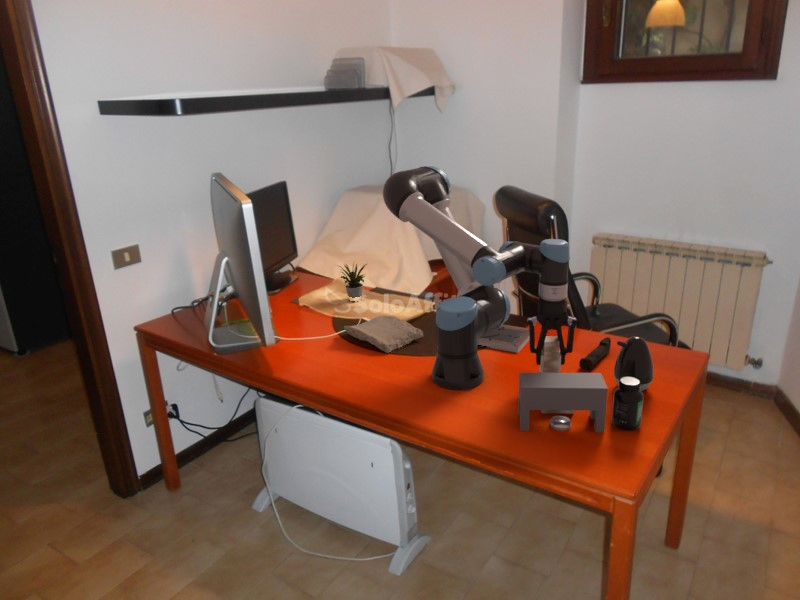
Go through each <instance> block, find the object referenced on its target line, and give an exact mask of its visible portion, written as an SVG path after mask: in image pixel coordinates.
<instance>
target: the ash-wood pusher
mask: <svg viewBox="0 0 800 600" xmlns="http://www.w3.org/2000/svg"><path fill="white" fill-rule="evenodd" d="M559 344H560V342H559V340H558V337H557V335H556V336H555V335H549V336H548V335H546V338H545V341H544V345H543V349H542V352H543V354H544V365H543V373H558V365H559V352H560V348H559ZM540 411H541V414H553V415H554V414H557V415H558V414H559V415H560V414H561V415H562V414H563V415H564V414H565V415H569V414H570V415H571V414H573V415H574V412H575V410H540Z"/></svg>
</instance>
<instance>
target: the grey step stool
mask: <svg viewBox="0 0 800 600" xmlns="http://www.w3.org/2000/svg"><path fill="white" fill-rule="evenodd" d="M608 391H609V389H608V386H607V383H606V381H605V379H604V377H603V375H602V373H601V372H561V373H539V372H520V371H519V372H518V401H517V402H518V405H517V406H518V407H517V408H518V409H517V412H518V413H517V414H518V419H519V429H520V431H521V432H529V431H530V411H536V410H538V411H541V410H574V411H589V416H590V420H594V426H593V428H594V431H595V433H605V427H606V415H607V402H608Z"/></svg>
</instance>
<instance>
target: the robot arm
mask: <svg viewBox="0 0 800 600" xmlns="http://www.w3.org/2000/svg"><path fill="white" fill-rule="evenodd" d="M450 193H451V183H450V179H449V178H448V176H447V174H446V173H445V172H444V171H443V170H442V169H441V168H439V167H436V166H430V165H429V166H427V165H425V166H424V165H423V166H420V167H416V168H411V169H406V170H401V171H397V172H395V173H393V174H391V175H390V176H389V177H388V178H387V180H386V181H385V182H384V185H383V189H382V197H383V202H384V204H385V206H386V208H387V209H388V210H389V212H390V213H391V214H392V215H394V216H395V217H396V218H398V220H400V222H402V223H408V222H409V223H410V224H411V225H413V227H415V228H417V229H418V231H419V230H420V231H421V232H422V233H424V234H425V235H427V237H429V238H430V239H432V240H433V243H434V244H435V247H436V248H437V250H438V252H439V254H440V256H441V259H442V260H443V262H444V265H445V267H446V269H447V271H448V272H449V274H450V277H451V279H452V280H453V282H454V285H455V286H456V288H457V289H456V290H457V295H456V296H455V297H449V298H446V299H444V300H443V301H442V302H441V301H440V303H439V304H438V305H437V307H436V312H435V313H436V315H435V326H436V327H435V328H436V329H435V330H436V348H437V349H436V352H437V353H436V356H435V359H434V362H433V363H434V364H433V366H432V369H431V380H432V382H433V383H434V384H435V385H437V386H439V387H441V388H444V389H446V390H447V389H448V390H455V391H456V390H457V391H459V390H468V389H472V388H475V387H477V386H479V385H481V384H482V383H483V381H484V379H485V378H484V376H485V373H484V372H485V371H484V368H483V365H482V361H481V359H480V357H479V353H478V344H477V339H478V338H479V337H481V336H483V335H484V334H486V333H488V332H490V331H492V330H494V329H496V328H498V327H500V326H501V325H502V324H503V325H504V324H505V323H506V321H507V320H509V318H510V313H511V301H510V299H509V296H508V294H507V293H506V292H505V291H504V289H503V290H502V289H500V288H499V287H495V285H496V284H501V282H503V281H504V280H506V279H508V278H510V277H513V276H515V275H518V274H520V273H522V272H525V273H526V272H527V273H532V274H538V277H539V278H538V279H539V280H538V296H539V297H538V299H537V300H538V301H537V302H538V303H537V304H538V308H537V313H536V315H535V316H533V317H530V316H528V317H527V318H526V320H527V321H526V322H527V324H528V325H527V326H528V327H529V328H528V329H529V341H528V342H529V352H530V354H535V362H536V363H535V364H536V365H537V366H539V372H538V373H543V365H544V354H543V352H542V349H543V345H544V341H545V338H546V336H547V334H548V332H549V331H550V330H554V331H555V332H556V336H557V337H558V340H559V342H560V344H559V365H558V373H562V372H561V371H562V370H561V369H562V365H563V366H564V365H565V363H566V355H567V354H571V353H573V351H574V350H573V348H574V340H575V339H574V337H575V328H576V326H577V324H578V320H577V318H576V317H575V316H569V314H568V312H567V311H568V310H567V309H568V298H567V297H568V287H569V285H568V284H569V283H568V282H569V267H570V259H571V257H570V244H569V243H568V241H566V240H564V239H559V238H548V239H547V238H546V239H544V240H542V241H541V242H540V244H539V245H536V244H530V243H524V242H520V241H510V240H507V241H505V242H503V243H502V245H501V246H500V247H499V250H498V251H497V250H496V249H495V248H493V247H492V246H490V245H489V244H487V243H485V241H483V240H482V239H480V238H479V237H478V236H476V235H475V234H473V233H471V232H470V231H469V230H468V229H466V228H464V227H463V226H462V225H461V224H459V223H458V222H456V220H455V217H454V215H453V214H452V212H451V210H450V204H451V201H452V200H451V198H450ZM537 322H538V323H539V324H540V326H541V327H540V328H541V330H540V333H539V336H538V340H537V345H535V341H536V336H535V334H536V330H535V326H536V324H537ZM565 323H567V325H568V327H567V339H566V346H565V342H564V337H563V330H562V327H563V326H564V325H565Z"/></svg>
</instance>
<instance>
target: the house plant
mask: <svg viewBox="0 0 800 600" xmlns="http://www.w3.org/2000/svg"><path fill="white" fill-rule="evenodd" d="M354 265H355V266H354ZM367 265H368V263H365V264H364V265H362V267H361V268H360V269H359V271H358V263H356V264H355V262H353V264H352V267H354V268H353V270H352V271H351V270H350V268H349V265H348V264H347V263H345V264H343V266H344V268H345V269H346V270H345V269H344V268H343V267H342V266H341V265H337V264H336V266H337V267H340V268H341V270H342V271H341V273H342V274H343V275H341V276H340V277H339V279H340V278H341V279H342V280H343V281H344V285H345V289H346V293H347V297H348V296H349V297H352V298H355V297H360V296H362V297H363V290H364V289H363V288H364V283H365V280H364V278H365V277H367V275H364V274H361V273H362V271H363V270H365V269H366V268H365V267H366V266H367ZM343 271H344V272H343Z"/></svg>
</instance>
